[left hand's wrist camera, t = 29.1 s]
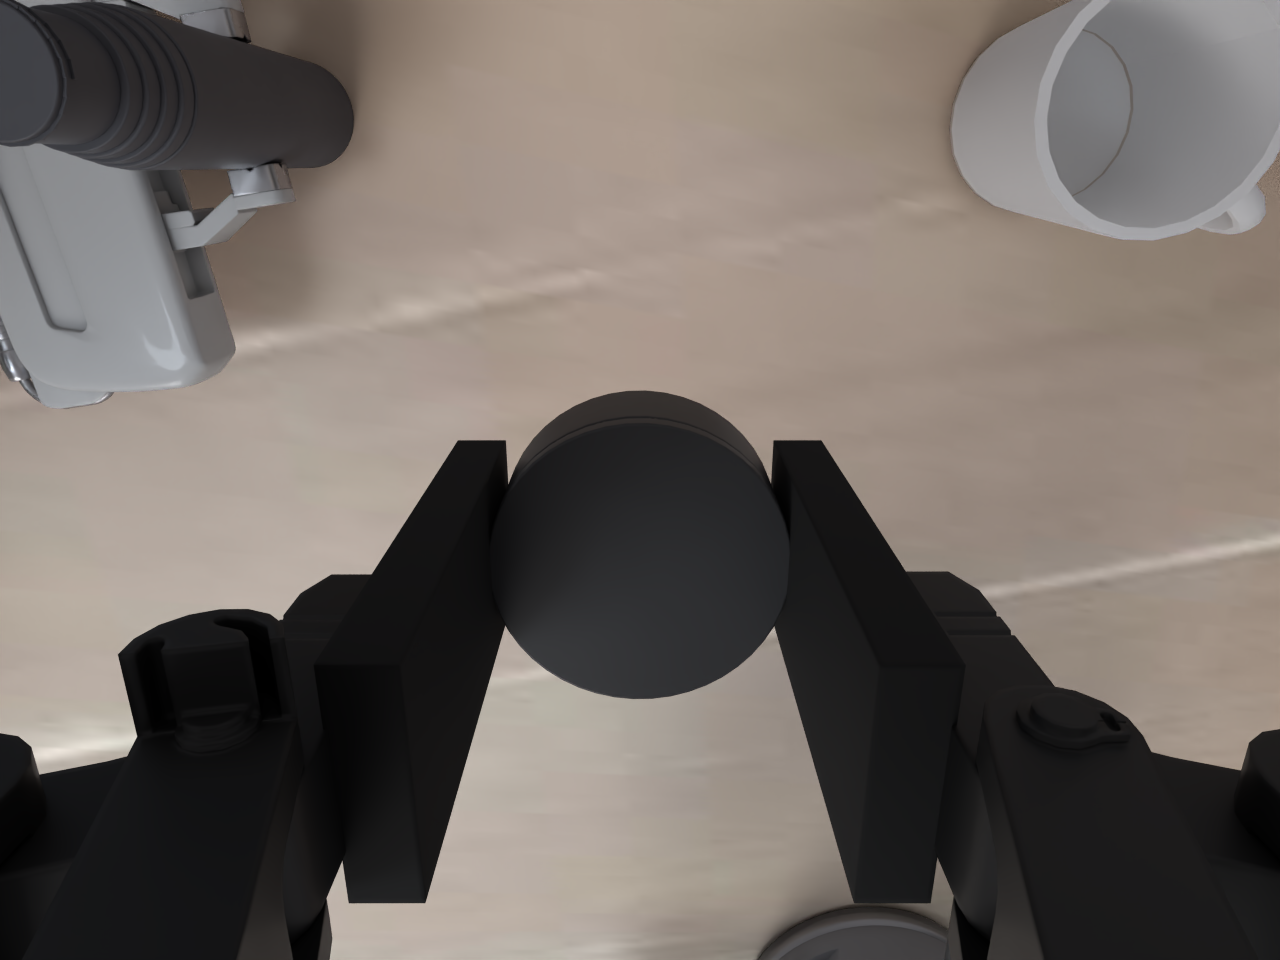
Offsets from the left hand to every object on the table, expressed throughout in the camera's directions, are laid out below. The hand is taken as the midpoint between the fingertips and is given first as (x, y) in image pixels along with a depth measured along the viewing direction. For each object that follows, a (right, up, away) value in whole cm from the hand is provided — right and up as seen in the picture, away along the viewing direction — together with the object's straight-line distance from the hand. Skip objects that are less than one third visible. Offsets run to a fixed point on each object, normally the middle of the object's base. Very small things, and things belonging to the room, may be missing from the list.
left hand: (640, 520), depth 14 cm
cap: (0, -1, -2) cm, 2 cm away
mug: (+19, +16, +26) cm, 36 cm away
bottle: (-15, +17, +25) cm, 34 cm away
